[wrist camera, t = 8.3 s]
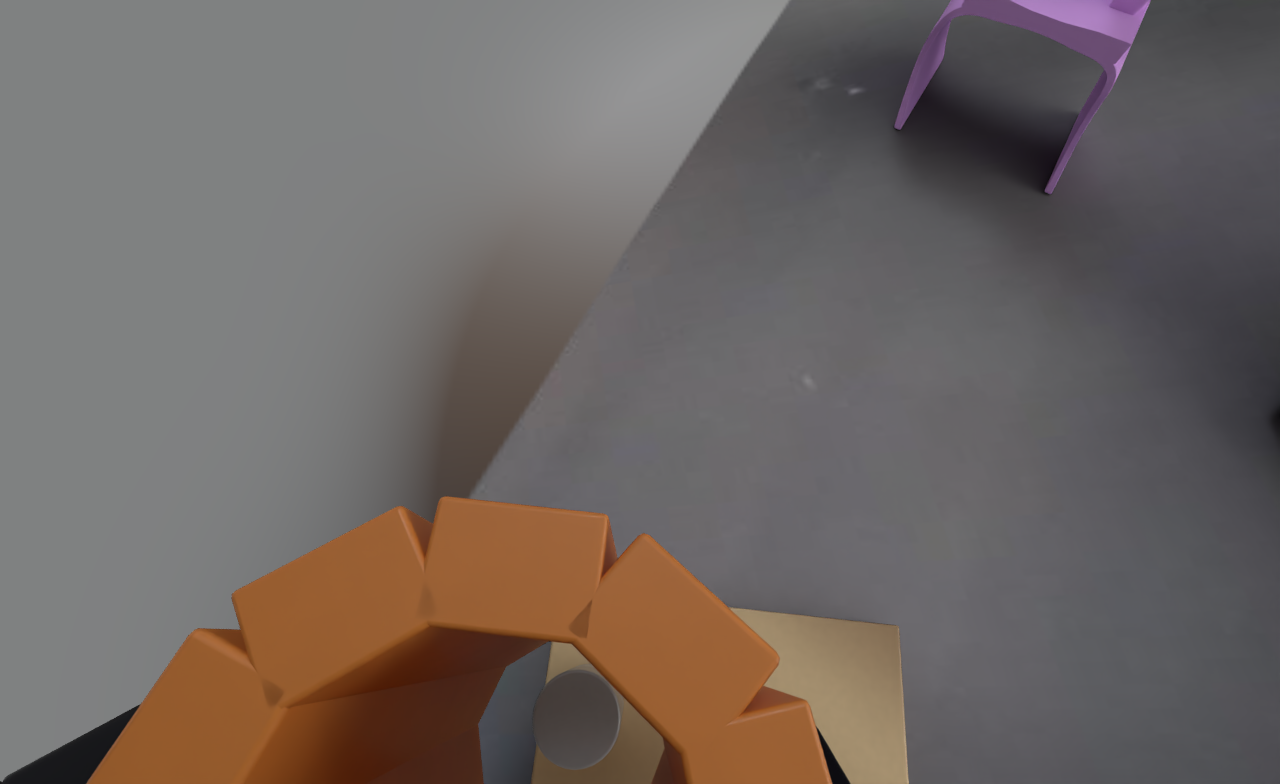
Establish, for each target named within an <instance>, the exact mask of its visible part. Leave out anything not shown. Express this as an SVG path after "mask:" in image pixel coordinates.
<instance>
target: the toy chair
mask: <svg viewBox="0 0 1280 784" xmlns="http://www.w3.org/2000/svg"><path fill="white" fill-rule="evenodd" d="M1150 1H1151V0H951V1H950V3H949V5H948V6H947V8H946V9H945V11H944V13H943V14H942V16H941V17H940V19H939V20H938V22H937V24H936V25H935V27H934V28H933V30H932V32H931V33H930V35H929V37H928V38H927V40H926V42H925V44H924V46H923V48H922V50H921V52H920V54H919V57H918V59H917V61H916V64H915V66H914V69H913V72H912V74H911V77H910V80H909V83H908V85H907V88H906V91H905V94H904V97H903V100H902V103H901V106H900V110H899V113H898V116H897V119H896V122H895V125H894V128H896V129H899V130H900V129H901V128H902V126H903V125H904V123H905V121H906V120H907V118H908V116H909V115H910V113H911V111H912V110H913V108H914V106H915V105H916V103H917V101H918V100H919V98H920V97H921V95H922V93H923V92H924V90H925V88H926V87H927V85H928V83H929V82H930V80H931V78H932V77H933V75H934V73H935V72H936V70H937V68H938V67H939V65H940V63H941V62H942V60H943V57H944V51H945V44H946V39H947V33H948V30H949V26H950V22H951V20H952V19H953V18H955V17H958V16H962V15H976V16H981V17H984V18H988V19H991V20H994V21H998V22H1001V23H1005V24H1009V25H1013V26H1017V27H1021V28H1024V29H1027V30H1030V31H1033V32H1036V33H1039V34H1041V35H1044V36H1046V37H1048V38H1051V39H1053V40H1055V41H1057V42H1059V43H1061V44H1063V45H1065V46H1067V47H1069V48H1071V49H1073V50H1075V51H1077V52H1079V53H1081V54H1083V55H1086V56H1088V57H1090V58H1092V59H1093V60H1095V61H1096V62H1098V63H1099V64H1100V65H1101V66H1102V67H1103V68H1104V71H1103V73H1102V75H1101V76H1100V78H1099V80H1098V82H1097V83H1096V85H1095V87H1094V89H1093V90H1092V92H1091V94H1090V96H1089V98H1088V99H1087V101H1086V103H1085V105H1084V106H1083V108H1082V110H1081V112H1080V113H1079V115H1078V117H1077V119H1076V122H1075V124H1074V126H1073V128H1072V130H1071V133H1070V135H1069V137H1068V139H1067V141H1066V144H1065V146H1064V148H1063V150H1062V152H1061V155H1060V157H1059V159H1058V161H1057V163H1056V166H1055V168H1054V170H1053V172H1052V175H1051V177H1050V179H1049V181H1048V183H1047V186H1046V188H1045V190H1044V192H1046V193H1048V194H1052V192H1053V190H1054V188H1055V186H1056V184H1057V182H1058V180H1059V178H1060V176H1061V174H1062V172H1063V170H1064V168H1065V166H1066V164H1067V162H1068V160H1069V158H1070V156H1071V154H1072V152H1073V150H1074V149H1075V147H1076V145H1077V143H1078V141H1079V139H1080V137H1081V136H1082V134H1083V132H1084V130H1085V129H1086V127H1087V125H1088V124H1089V122H1090V121H1091V119H1092V117H1093V116H1094V114H1095V113H1096V111H1097V110H1098V108H1099V107H1100V105H1101V104H1102V103H1103V101H1104V100H1105V98H1106V97H1107V95H1108V94H1109V92H1110V91H1111V89H1112V87H1113V85H1114V83H1115V81H1116V79H1117V77H1118V75H1119V72H1120V70H1121V68H1122V65H1123V63H1124V61H1125V58H1126V56H1127V54H1128V52H1129V49H1130V47H1131V45H1132V43H1133V40H1134V38H1135V36H1136V33H1137V31H1138V29H1139V26H1140V24H1141V22H1142V19H1143V17H1144V15H1145V12H1146V10H1147V8H1148V5H1149V3H1150Z"/></svg>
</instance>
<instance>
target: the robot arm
mask: <svg viewBox="0 0 1280 784" xmlns="http://www.w3.org/2000/svg"><path fill="white" fill-rule="evenodd" d="M140 705H141V704H140ZM140 705H138V706H136V707H134V708H132V709H131V710H129V711H127V712H125V713H123V714H121V715H119V716H118V717H116V718H114V719H112V720H110V721H109V722H107V723H105V724H103V725H101V726H99V727H97V728H95V729H93V730H92V731H90V732H88V733H86V734H84V735H82V736H80V737H78V738H77V739H75V740H73V741H71V742H69V743H67V744H65V745H64V746H62V747H60V748H58V749H56V750H54V751H52V752H51V753H49V754H47V755H45V756H43V757H41V758H39V759H38V760H36V761H34V762H32V763H30V764H28V765H26V766H25V767H23V768H21V769H19V770H17V771H16V772H14V773H12V774H10V775H8V776H7V777H6V778H5V779H4V780H3V782H1V781H0V784H86V783H87V782H88V780H89V779H90V777H91V776H92V774H93V773H94V772H95V770H96V769H97V767H98V766H99V764H100V763H101V761H102V760H103V759H104V757H105V756H106V754H107V753H108V751H109V750H110V748H111V747H112V746H113V744H114V743H115V741H116V740H117V738H118V737H119V735H120V734H121V732H122V731H123V730H124V728H125V727H126V725H127V724H128V722H129V721H130V719H131V718H132V717H133V715H134V714H135V712H136V711H137V709H138V708H139V706H140ZM816 728H817V726H816ZM817 732H818V735H819V739H820V742H821V746H822V749H823V753H824V756H825V760H826V763H827V767H828V770H829V774H830V777H831V781H832V784H851V783H850V782H849V780H848V778H847V776H846V775H845V773H844V771H843V770H842V768H841V766H840V765H839V763H838V761H837V759H836V758H835V756H834V754H833V753H832V751H831V749H830V748H829V746H828V744H827V743H826V741H825V739H824V737H823V736H822V734H821V732H820V731H819V729H818V728H817Z"/></svg>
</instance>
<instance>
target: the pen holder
mask: <svg viewBox="0 0 1280 784" xmlns="http://www.w3.org/2000/svg"><path fill="white" fill-rule="evenodd" d="M232 602H233V605H234V609H235V612H236V615H237V619H238V622H239V625H240V629H241V630H232V629H200V628H198V629H196V630H194V631H193V632H192V633H191V634H190V635H188V637H187V638H186V640H185V641H184V643H183V644H182V646H181V647H180V649H179V650H178V651H177V653H176V654H175V656H174V657H173V659H172V660H171V661H170V663H169V664H168V666H167V667H166V669H165V670H164V672H163V673H162V675H161V676H160V677H159V679H158V681H157V682H156V683H155V685H154V686H153V688H152V689H151V690H150V692H149V693H148V695H147V696H146V698H145V699H144V701H143V702H142V703H141V705H140V706H139V708H138V709H137V711H136V712H135V714H134V715H133V717H132V718H131V719H130V721H129V722H128V724H127V725H126V727H125V728H124V730H123V731H122V732H121V734H120V735H119V737H118V738H117V740H116V741H115V743H114V744H113V746H112V747H111V748H110V750H109V751H108V753H107V754H106V756H105V757H104V759H103V760H102V761H101V763H100V764H99V766H98V767H97V769H96V770H95V772H94V773H93V774H92V776H91V777H90V779H89V780H88V782H87V783H86V784H484V783H483V772H482V761H481V750H480V739H479V728H478V723H479V721H480V719H481V717H482V715H483V713H484V711H485V709H486V707H487V705H488V703H489V701H490V699H491V697H492V695H493V692H494V690H495V688H496V686H497V684H498V682H499V680H500V678H501V676H502V674H503V672H504V670H505V668H506V666H508V665H510V664H511V663H513V662H515V661H516V660H518V659H520V658H521V657H523V656H525V655H526V654H528V653H530V652H531V651H533V650H535V649H536V648H538V647H540V646H541V645H543V644H545V643H546V642H548V641H551V642H559V643H568V644H572V645H573V646H574V647H575V648H576V649H577V650H578V651H579V652H580V653H581V654H582V655H583V656H584V657H585V658H586V659H587V660H588V661H589V662H590V663H591V664H592V665H593V667H594V668H595V669H596V670H597V671H598V672H599V673H600V674H601V675H602V676H603V677H604V678H605V679H606V680H607V681H608V682H609V683H610V684H611V685H612V686H613V687H614V688H615V689H616V690H617V691H618V692H619V693H620V694H621V695H622V696H623V697H624V698H625V699H626V700H627V701H628V702H629V703H630V704H631V705H632V706H633V707H634V709H635V710H636V711H637V712H638V713H639V714H640V715H641V716H642V717H643V718H644V719H645V720H646V721H647V722H648V723H649V724H650V725H651V726H652V727H653V728H654V729H655V730H656V731H657V732H658V733H659V734H660V735H661V736H662V737H663V743H664V750H663V753H662V756H661V758H660V761H659V764H658V766H657V769H656V772H655V775H654V777H653V780H652V783H651V784H832V781H831V777H830V774H829V770H828V767H827V763H826V760H825V756H824V753H823V749H822V746H821V742H820V739H819V735H818V732H817V728H816V725H815V721H814V718H813V714H812V710H811V707H810V705H809V703H808V702H807V700H805V699H802V698H799V697H796V696H793V695H790V694H787V693H784V692H781V691H778V690H775V689H772V688H769V687H766V686H763V685H764V684H765V683H766V681H767V680H768V679H769V677H770V676H771V675H772V673H773V672H774V671H775V669H776V668H777V666H778V665H779V661H780V657H779V655H778V653H777V652H776V651H775V650H774V649H773V648H772V647H771V646H770V645H769V644H768V643H767V642H766V641H764V640H763V639H762V638H761V637H760V636H759V635H758V634H757V633H756V632H755V631H753V630H752V629H751V628H750V627H749V626H748V625H747V624H746V623H745V622H744V621H743V620H741V619H740V618H739V617H738V616H737V615H736V614H735V613H734V612H733V611H732V610H731V609H729V608H728V607H727V606H726V605H725V604H724V603H723V602H722V601H721V600H720V599H719V598H717V597H716V596H715V595H714V594H713V593H712V592H711V591H710V590H709V589H708V588H707V587H705V586H704V585H703V584H702V583H701V582H700V581H699V580H698V579H697V578H696V577H695V576H693V575H692V574H691V573H690V572H689V571H688V570H687V569H686V568H685V567H684V566H682V565H681V564H680V563H679V562H678V561H677V560H676V559H675V558H674V557H673V556H672V555H670V554H669V553H668V552H667V551H666V550H665V549H664V548H663V547H662V546H661V545H660V544H658V543H657V542H656V541H655V540H654V539H653V538H652V537H651V536H650V535H647V534H645V533H643V534H641V535H639V536H638V537H637V538H636V539H635V540H634V541H633V542H632V544H631V545H630V546H629V547H628V548H627V549H626V550H625V551H624V553H623V554H622V555H621V556H620V557H619V558H617V554H616V549H615V545H614V540H613V535H612V531H611V526H610V521H609V518H608V516H607V515H605V514H602V513H593V512H584V511H575V510H566V509H557V508H548V507H538V506H529V505H520V504H511V503H502V502H493V501H484V500H475V499H466V498H456V497H447V496H446V497H442V498H441V499H440V500H439V502H438V507H437V511H436V515H435V519H434V523H433V524H432V523H430V522H429V521H427V520H425V519H424V518H422V517H420V516H419V515H417V514H415V513H413V512H412V511H410V510H408V509H407V508H405V507H403V506H398V507H395V508H393V509H391V510H390V511H388V512H386V513H384V514H382V515H380V516H378V517H376V518H374V519H372V520H370V521H368V522H367V523H365V524H363V525H361V526H359V527H357V528H355V529H353V530H351V531H349V532H347V533H345V534H344V535H342V536H340V537H338V538H336V539H334V540H332V541H330V542H328V543H326V544H325V545H322V546H321V547H319V548H317V549H315V550H313V551H311V552H309V553H307V554H305V555H303V556H302V557H299V558H298V559H296V560H294V561H292V562H290V563H288V564H286V565H284V566H282V567H280V568H278V569H277V570H275V571H273V572H271V573H269V574H267V575H265V576H263V577H261V578H259V579H257V580H255V581H253V582H251V583H250V584H248V585H246V586H244V587H242V588H240V589H238V590H236V591H235V592H234V593H233V594H232Z"/></svg>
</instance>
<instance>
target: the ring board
mask: <svg viewBox="0 0 1280 784" xmlns="http://www.w3.org/2000/svg"><path fill="white" fill-rule="evenodd" d="M728 608H729V609H731V610H732V611H733V612H734V613H735V614H736V615H737V616H738V617H739V618H740V619H741V620H743V621H744V622H745V623H746V624H747V625H748V626H749V627H750V628H751V629H752V630H753V631H755V632H756V633H757V634H758V635H759V636H760V637H761V638H762V639H763V640H764V641H766V642H767V643H768V644H769V645H770V646H771V647H772V648H773V649H774V650H775V651H776V652H777V653H778V655H779V657H780V661H779V665H778V666H777V668H776V669H775V671H774V672H773V673H772V675H771V676H770V677H769V679H768V680H767V681H766V683H765V684H764V685H763V686H766V687H769V688H772V689H775V690H778V691H781V692H784V693H787V694H790V695H793V696H796V697H799V698H802V699H805V700H807V702H808V703H809V705H810V707H811V710H812V714H813V718H814V721H815V725H816V726H817V728H818V729H819V731H820V732H821V734H822V736H823V737H824V739H825V741H826V743H827V744H828V746H829V748H830V749H831V751H832V753H833V754H834V756H835V758H836V759H837V761H838V763H839V765H840V766H841V768H842V770H843V771H844V773H845V775H846V776H847V778H848V780H849V782H850V783H851V784H909V783H908V766H907V750H906V733H905V717H904V700H903V684H902V667H901V651H900V634H899V627H898V626H896V625H888V624H879V623H870V622H861V621H851V620H842V619H833V618H824V617H815V616H805V615H796V614H787V613H778V612H769V611H759V610H750V609H741V608H732V607H728ZM532 726H533V733H534V737H535V740H536V743H537V744H536V751H535V758H534V764H533V771H532V778H531V784H651V783H652V780H653V777H654V775H655V772H656V769H657V766H658V764H659V761H660V758H661V756H662V753H663V750H664V743H663V737H662V736H661V735H660V734H659V733H658V732H657V731H656V730H655V729H654V728H653V727H652V726H651V725H650V724H649V723H648V722H647V721H646V720H645V719H644V718H643V717H642V716H641V715H640V714H639V713H638V712H637V711H636V710H635V709H634V707H633V706H632V705H631V704H630V703H629V702H628V701H627V700H626V699H625V698H624V697H623V696H622V695H621V694H620V693H619V692H618V691H617V690H616V689H615V688H614V687H613V686H612V685H611V684H610V683H609V682H608V681H607V680H606V679H605V678H604V677H603V676H602V675H601V674H600V673H599V672H598V671H597V670H596V669H595V668H594V667H593V665H592V664H591V663H590V662H589V661H588V660H587V659H586V658H585V657H584V656H583V655H582V654H581V653H580V652H579V651H578V650H577V649H576V648H575V647H574V646H573V645H572V644H568V643H559V642H551V649H550V656H549V663H548V669H547V676H546V683H545V687H544V688H543V689H542V691H541V692H540V694H539V696H538V698H537V700H536V703H535V706H534V710H533V718H532Z"/></svg>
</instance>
